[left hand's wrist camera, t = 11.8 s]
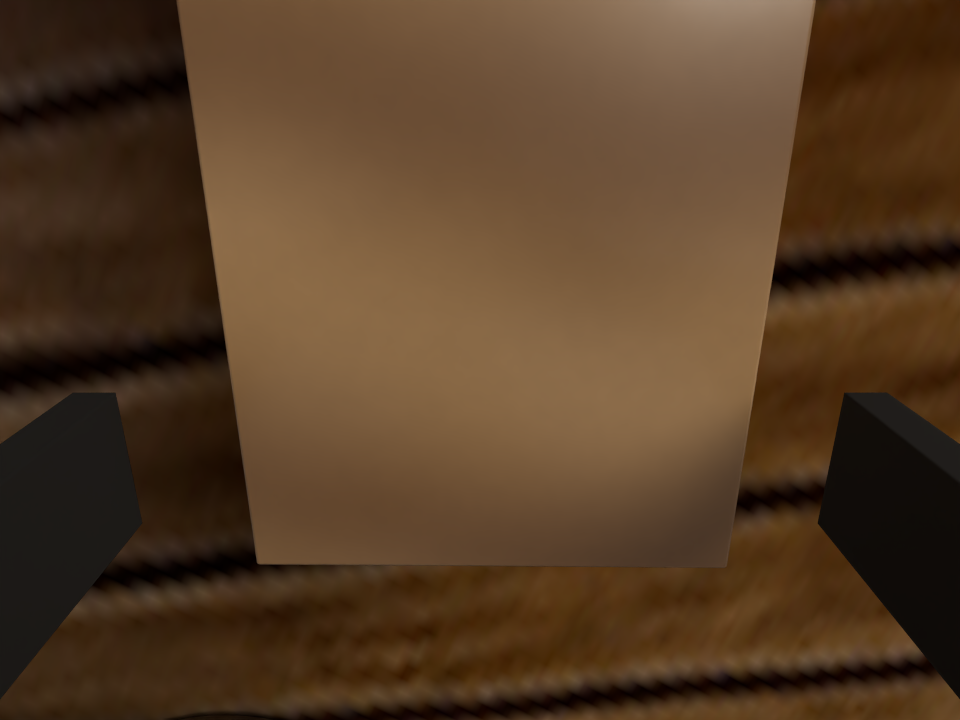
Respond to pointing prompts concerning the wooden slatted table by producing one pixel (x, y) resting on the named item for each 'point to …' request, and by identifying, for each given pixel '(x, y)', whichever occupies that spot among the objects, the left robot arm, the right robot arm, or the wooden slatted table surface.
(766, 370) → the wooden slatted table surface
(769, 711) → the wooden slatted table surface
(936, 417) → the wooden slatted table surface
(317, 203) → the cabinet
